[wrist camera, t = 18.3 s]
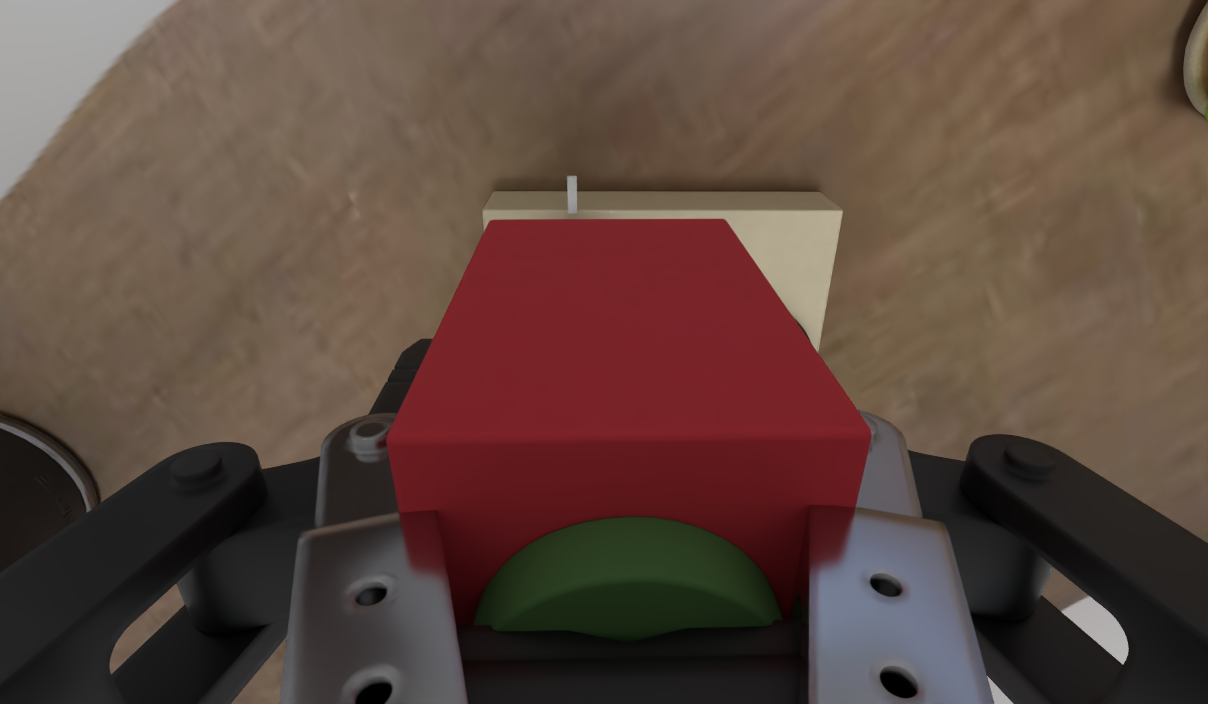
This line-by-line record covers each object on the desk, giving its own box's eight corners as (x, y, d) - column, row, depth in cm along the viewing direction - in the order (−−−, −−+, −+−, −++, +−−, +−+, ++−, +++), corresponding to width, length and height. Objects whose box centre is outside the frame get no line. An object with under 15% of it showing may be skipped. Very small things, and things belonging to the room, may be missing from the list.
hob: (493, 409, 33) (483, 446, 30) (471, 159, 27) (456, 176, 24) (785, 408, 33) (803, 445, 30) (825, 159, 27) (851, 176, 24)
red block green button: (506, 442, 14) (430, 847, 7) (488, 218, 12) (352, 497, 5) (706, 439, 14) (819, 837, 7) (726, 217, 12) (917, 489, 5)
